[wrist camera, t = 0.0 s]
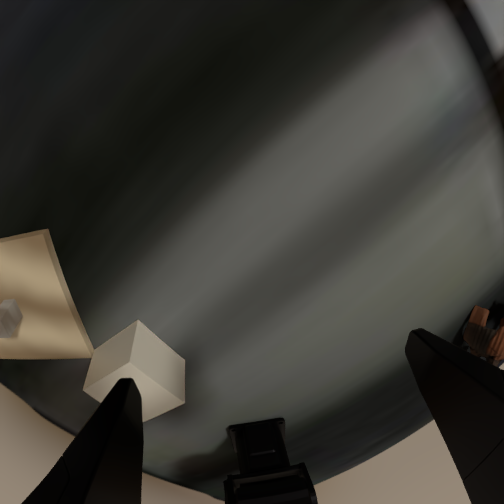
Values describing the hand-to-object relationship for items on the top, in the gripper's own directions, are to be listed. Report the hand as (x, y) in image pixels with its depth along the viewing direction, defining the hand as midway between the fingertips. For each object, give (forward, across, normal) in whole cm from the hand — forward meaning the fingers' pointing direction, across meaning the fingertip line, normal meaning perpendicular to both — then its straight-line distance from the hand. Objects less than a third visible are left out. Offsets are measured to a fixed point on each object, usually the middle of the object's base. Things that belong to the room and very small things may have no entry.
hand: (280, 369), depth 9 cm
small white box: (+15, +10, +12) cm, 22 cm away
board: (+15, +20, +5) cm, 25 cm away
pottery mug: (+15, -31, +18) cm, 39 cm away
